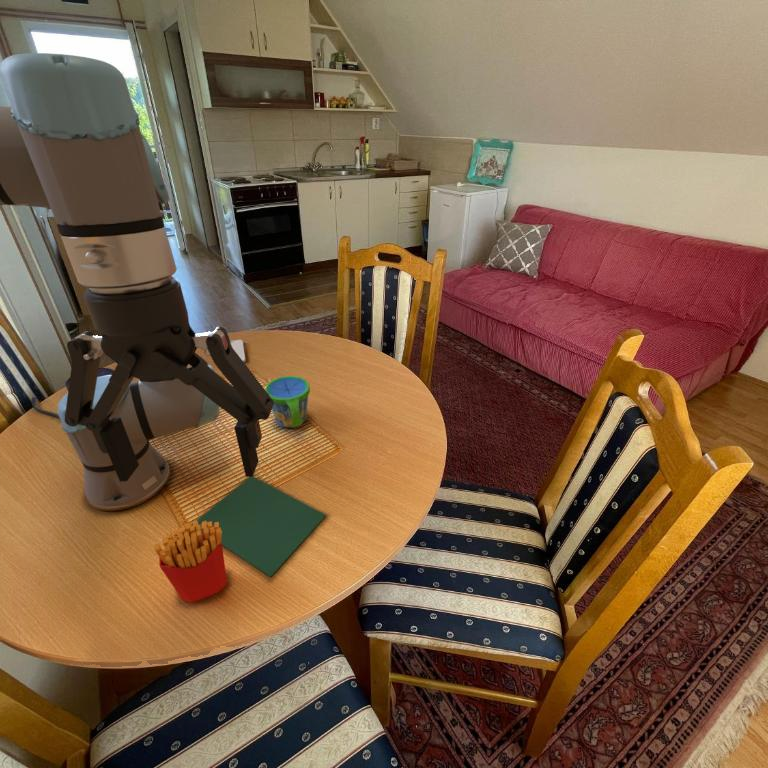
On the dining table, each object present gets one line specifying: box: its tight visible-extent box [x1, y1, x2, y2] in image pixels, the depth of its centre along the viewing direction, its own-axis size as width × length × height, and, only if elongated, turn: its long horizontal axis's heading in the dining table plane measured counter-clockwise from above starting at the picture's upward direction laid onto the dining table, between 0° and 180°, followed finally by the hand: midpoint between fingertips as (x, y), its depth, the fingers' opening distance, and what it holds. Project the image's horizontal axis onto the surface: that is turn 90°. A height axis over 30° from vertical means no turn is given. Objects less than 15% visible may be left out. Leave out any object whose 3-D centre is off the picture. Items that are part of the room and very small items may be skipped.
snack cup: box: [264, 375, 311, 429], centre depth 102 cm, size 16×10×10 cm
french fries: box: [153, 520, 228, 603], centre depth 64 cm, size 9×4×13 cm, turn 115°
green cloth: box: [191, 476, 327, 578], centre depth 79 cm, size 20×15×1 cm
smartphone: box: [230, 339, 247, 364], centre depth 134 cm, size 7×1×15 cm
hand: (191, 471), depth 46 cm, fingers open, 13 cm apart
